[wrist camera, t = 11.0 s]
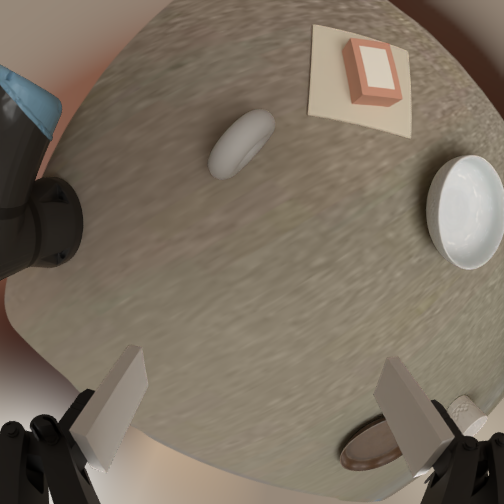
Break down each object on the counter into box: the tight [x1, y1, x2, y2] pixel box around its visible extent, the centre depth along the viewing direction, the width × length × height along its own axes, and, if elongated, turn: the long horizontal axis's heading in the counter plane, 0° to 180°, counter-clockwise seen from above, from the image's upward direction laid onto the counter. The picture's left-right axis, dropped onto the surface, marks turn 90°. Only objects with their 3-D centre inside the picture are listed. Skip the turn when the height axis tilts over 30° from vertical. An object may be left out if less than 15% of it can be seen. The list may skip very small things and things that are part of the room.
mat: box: [307, 24, 411, 139], centre depth 32 cm, size 16×16×1 cm
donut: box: [208, 109, 275, 180], centre depth 31 cm, size 10×3×10 cm, turn 138°
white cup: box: [447, 395, 487, 436], centre depth 41 cm, size 8×8×10 cm
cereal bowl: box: [426, 155, 504, 270], centre depth 33 cm, size 17×17×7 cm
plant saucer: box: [340, 417, 403, 471], centre depth 46 cm, size 21×21×3 cm
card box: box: [342, 38, 403, 107], centre depth 30 cm, size 9×6×5 cm, turn 5°
